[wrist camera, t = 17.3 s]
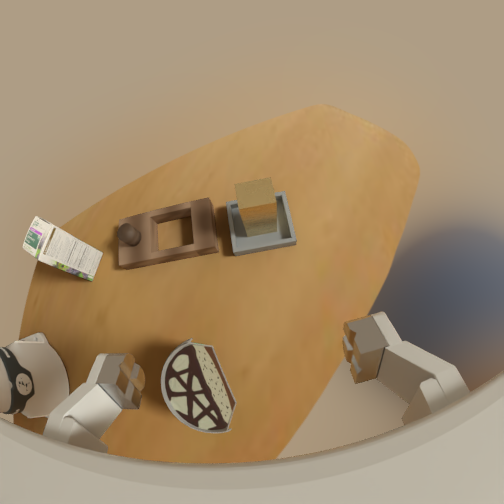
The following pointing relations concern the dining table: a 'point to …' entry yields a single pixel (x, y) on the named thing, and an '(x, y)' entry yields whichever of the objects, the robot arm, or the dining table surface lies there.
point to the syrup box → (61, 249)
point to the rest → (264, 241)
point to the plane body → (146, 235)
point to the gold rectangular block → (257, 206)
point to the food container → (197, 388)
